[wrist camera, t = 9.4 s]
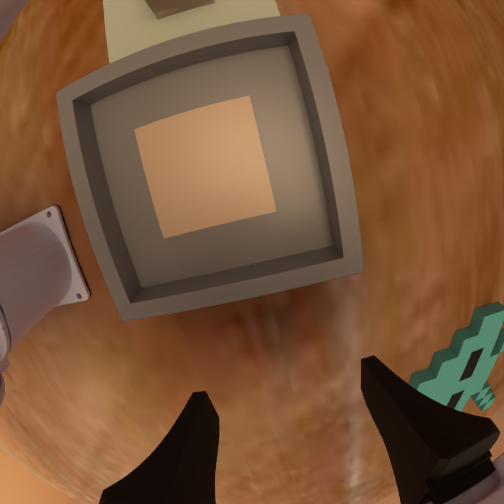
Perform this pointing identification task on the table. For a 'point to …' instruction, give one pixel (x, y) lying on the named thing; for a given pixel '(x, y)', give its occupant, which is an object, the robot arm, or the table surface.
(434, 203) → the table surface
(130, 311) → the box
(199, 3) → the brown block
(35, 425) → the table surface
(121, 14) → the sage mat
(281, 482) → the table surface
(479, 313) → the alien figure
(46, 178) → the table surface
